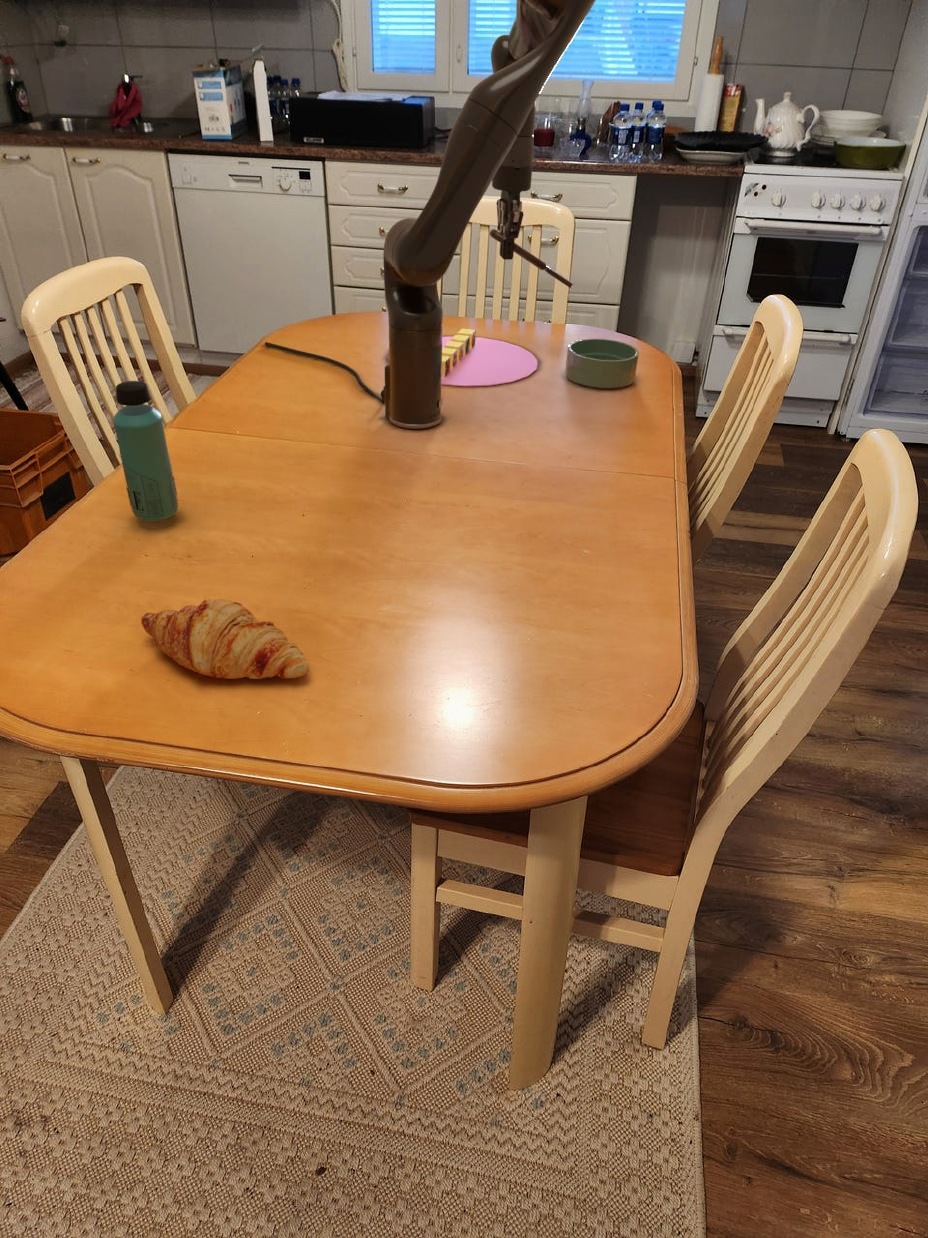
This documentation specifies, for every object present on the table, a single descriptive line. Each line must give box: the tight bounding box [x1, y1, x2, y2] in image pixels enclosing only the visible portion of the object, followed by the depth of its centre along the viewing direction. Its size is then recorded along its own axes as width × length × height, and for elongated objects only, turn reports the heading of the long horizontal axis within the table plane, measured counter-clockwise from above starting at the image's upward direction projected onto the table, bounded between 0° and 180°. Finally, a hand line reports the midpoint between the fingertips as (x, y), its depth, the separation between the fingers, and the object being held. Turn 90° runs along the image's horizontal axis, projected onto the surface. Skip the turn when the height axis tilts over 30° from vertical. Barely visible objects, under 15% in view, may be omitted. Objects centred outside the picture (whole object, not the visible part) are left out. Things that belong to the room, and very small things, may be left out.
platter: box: [387, 328, 539, 387], centre depth 184 cm, size 32×32×3 cm
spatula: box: [489, 228, 574, 289], centre depth 176 cm, size 18×4×11 cm, turn 101°
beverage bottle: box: [112, 380, 180, 522], centre depth 118 cm, size 6×7×20 cm
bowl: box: [564, 338, 640, 389], centre depth 177 cm, size 14×14×6 cm
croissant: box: [140, 598, 310, 680], centre depth 97 cm, size 21×10×8 cm, turn 71°
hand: (506, 257), depth 175 cm, fingers closed on spatula, 1 cm apart
